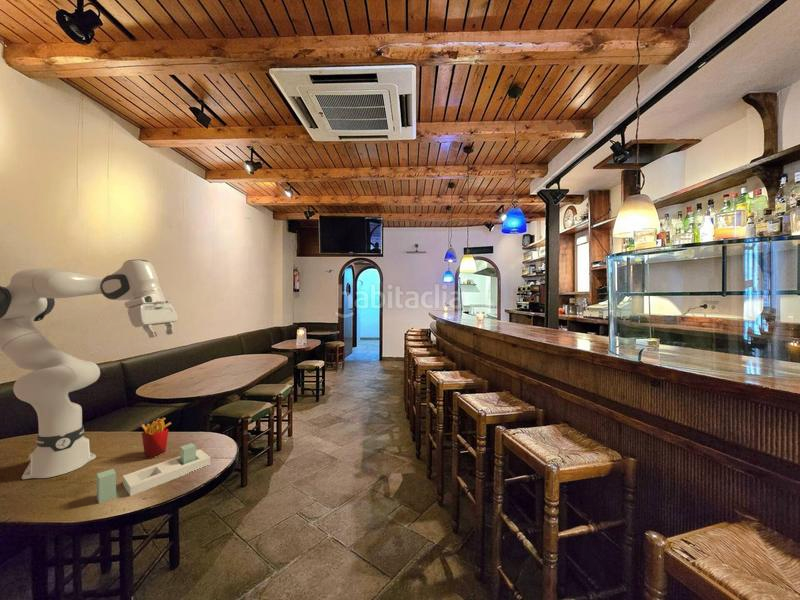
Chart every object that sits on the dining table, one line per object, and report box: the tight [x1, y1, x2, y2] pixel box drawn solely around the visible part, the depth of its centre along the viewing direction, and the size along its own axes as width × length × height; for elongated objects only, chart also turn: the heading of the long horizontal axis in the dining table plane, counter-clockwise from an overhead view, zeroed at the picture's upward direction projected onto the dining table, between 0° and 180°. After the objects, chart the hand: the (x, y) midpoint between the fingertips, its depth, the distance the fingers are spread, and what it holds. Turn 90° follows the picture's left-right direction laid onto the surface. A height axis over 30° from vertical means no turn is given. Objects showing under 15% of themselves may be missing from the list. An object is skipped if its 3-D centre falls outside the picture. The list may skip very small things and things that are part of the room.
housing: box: [122, 442, 211, 497], centre depth 114 cm, size 10×24×8 cm, turn 142°
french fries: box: [140, 417, 172, 459], centre depth 128 cm, size 9×8×15 cm
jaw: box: [96, 468, 117, 504], centre depth 101 cm, size 4×4×8 cm
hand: (162, 335), depth 117 cm, fingers open, 8 cm apart
